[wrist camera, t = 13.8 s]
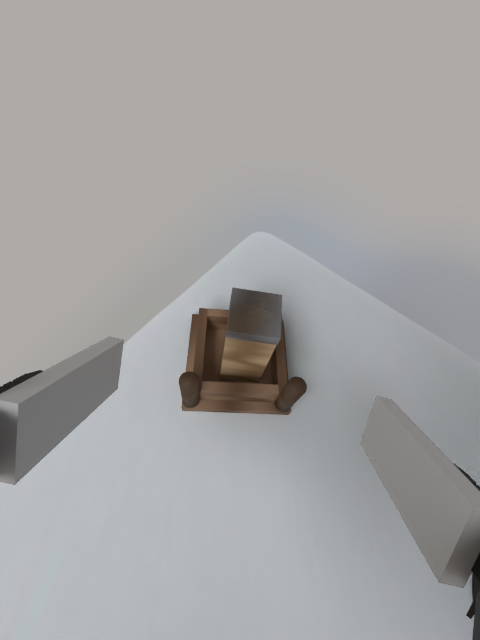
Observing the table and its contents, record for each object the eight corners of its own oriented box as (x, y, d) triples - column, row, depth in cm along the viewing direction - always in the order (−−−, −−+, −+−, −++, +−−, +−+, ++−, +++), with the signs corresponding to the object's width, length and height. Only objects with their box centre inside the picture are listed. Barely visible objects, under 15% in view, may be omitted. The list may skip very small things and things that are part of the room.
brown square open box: (281, 325, 39) (295, 293, 33) (288, 414, 33) (307, 395, 27) (192, 319, 38) (191, 285, 32) (182, 410, 32) (177, 389, 26)
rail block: (260, 348, 36) (281, 295, 26) (258, 383, 33) (280, 338, 24) (224, 342, 36) (232, 287, 26) (219, 377, 33) (226, 330, 24)
